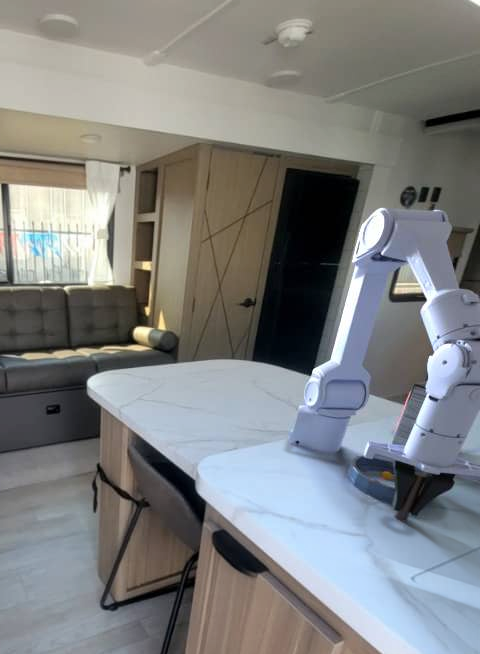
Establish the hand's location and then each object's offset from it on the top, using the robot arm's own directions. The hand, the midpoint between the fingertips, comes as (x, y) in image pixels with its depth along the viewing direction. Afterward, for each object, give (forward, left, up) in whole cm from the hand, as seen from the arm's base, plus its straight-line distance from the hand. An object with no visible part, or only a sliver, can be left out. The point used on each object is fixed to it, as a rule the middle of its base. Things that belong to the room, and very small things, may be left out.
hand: (404, 509), depth 61 cm
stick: (0, 0, -3) cm, 3 cm away
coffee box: (+5, +27, -3) cm, 28 cm away
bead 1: (-3, +8, -1) cm, 9 cm away
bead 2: (-1, +13, -2) cm, 13 cm away
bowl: (-1, +10, -3) cm, 10 cm away
